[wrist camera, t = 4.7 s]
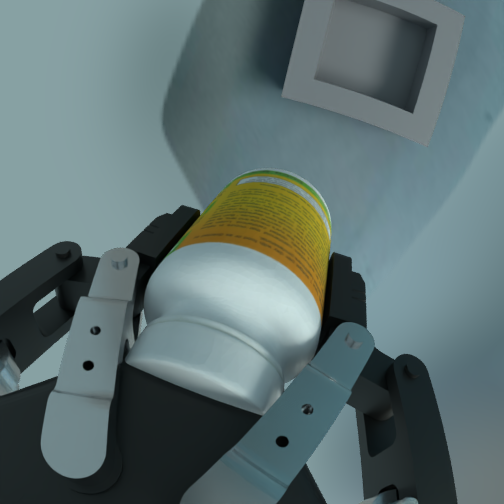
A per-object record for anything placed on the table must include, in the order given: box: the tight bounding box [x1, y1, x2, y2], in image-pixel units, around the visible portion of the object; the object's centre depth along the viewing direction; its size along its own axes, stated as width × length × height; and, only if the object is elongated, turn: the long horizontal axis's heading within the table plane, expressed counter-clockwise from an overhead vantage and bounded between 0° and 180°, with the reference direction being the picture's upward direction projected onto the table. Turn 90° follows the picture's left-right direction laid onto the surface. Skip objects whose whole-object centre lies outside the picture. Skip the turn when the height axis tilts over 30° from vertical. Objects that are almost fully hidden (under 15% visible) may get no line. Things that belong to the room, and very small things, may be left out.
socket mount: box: [281, 0, 465, 147], centre depth 16 cm, size 10×10×4 cm
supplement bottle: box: [125, 168, 331, 416], centre depth 11 cm, size 5×5×10 cm
